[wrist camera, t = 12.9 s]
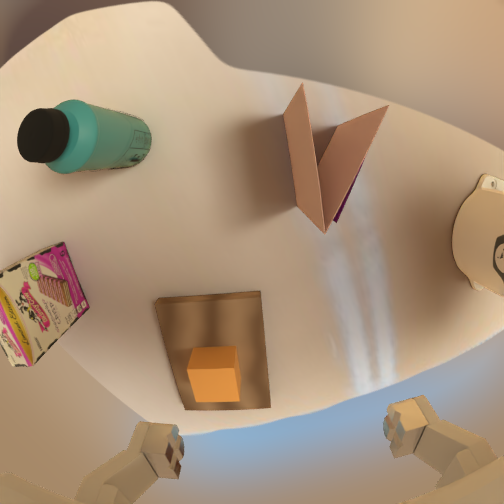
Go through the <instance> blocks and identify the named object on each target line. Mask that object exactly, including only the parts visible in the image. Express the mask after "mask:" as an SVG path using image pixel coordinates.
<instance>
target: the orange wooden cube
mask: <svg viewBox="0 0 504 504" xmlns="http://www.w3.org/2000/svg"><path fill="white" fill-rule="evenodd" d="M187 372H188V376H189V379H190V383H191V386H192V390H193V393H194V397H195V400H196V402H236V401H240V388H241V375H240V368H239V362H238V355H237V348H236V346H221V347H197V348H193V350H192V354H191V357H190V360H189V364H188V367H187Z"/></svg>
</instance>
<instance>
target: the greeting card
mask: <svg viewBox="0 0 504 504" xmlns="http://www.w3.org/2000/svg"><path fill="white" fill-rule="evenodd" d="M388 107H389V105H388V106H385V107H382V108H380V109H377V110H375V111H372V112H369V113H367V114H364V115H362V116H360V117H357V118H355V119H352V120H350V121H347V122H345V123H343V124H340V125H338V126H337V128H336V130H335V132H334V134H333V136H332V138H331V140H330V142H329V144H328V146H327V148H326V150H325V152H324V154H323V156H322V158H321V160H320V162H319V164H318V166H317V163H316V156H315V150H314V143H313V137H312V130H311V124H310V119H309V113H308V107H307V102H306V96H305V91H304V86H303V83H302V84H301V86H300V87H299V89H298V91H297V92H296V94H295V95H294V97H293V99H292V100H291V102H290V104H289V105H288V107H287V109H286V110H285V112H284V114H283V117H284V123H285V129H286V135H287V141H288V147H289V154H290V160H291V167H292V173H293V180H294V187H295V194H296V202H297V207H298V208H299V209H300V210H301V211H302V212H303V213H304V214H305V215H306V216H307V217H308V218H309V219H310V220H311V221H312V222H313V223H314V224H315V225H316V226H317V227H318V228H319V229H320V230H321V231H322V232H323V233H324V234H326V232H327V230H328V228H329V226H330V224H331V223H332V221H335V222H336V223H337V221H338V219H339V216H340V214H341V212H342V210H343V208H344V205H345V203H346V201H347V199H348V196H349V194H350V192H351V189H352V187H353V185H354V183H355V180H356V178H357V176H358V173H359V171H360V168H361V166H362V164H363V161H364V159H365V156H366V154H367V152H368V150H369V148H370V146H371V143H372V141H373V139H374V137H375V135H376V133H377V131H378V129H379V127H380V124H381V122H382V120H383V118H384V116H385V114H386V111H387V109H388Z"/></svg>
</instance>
